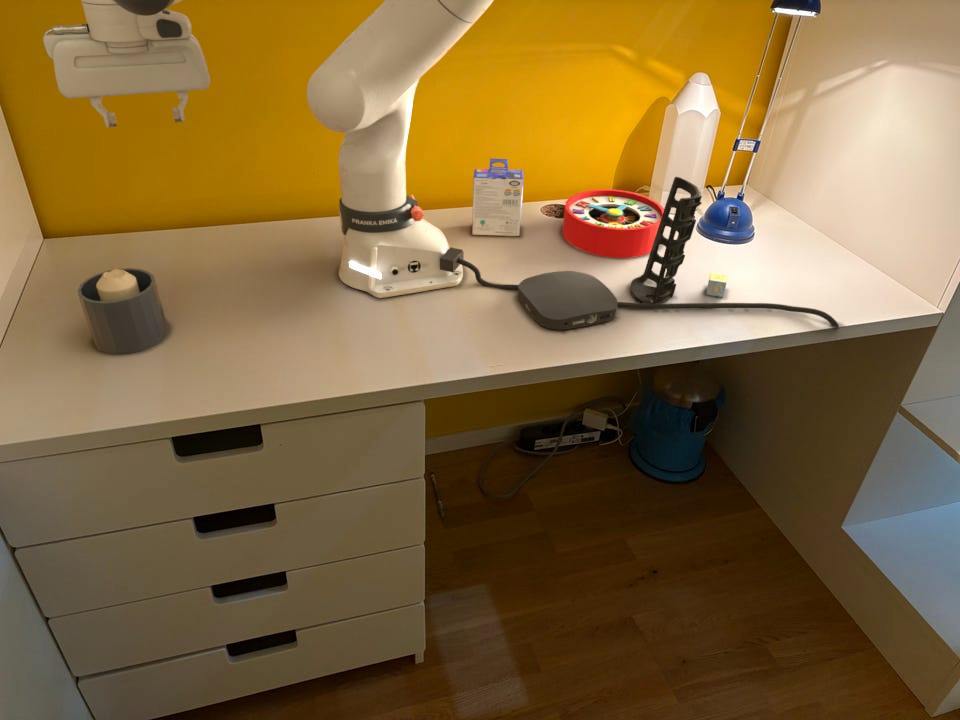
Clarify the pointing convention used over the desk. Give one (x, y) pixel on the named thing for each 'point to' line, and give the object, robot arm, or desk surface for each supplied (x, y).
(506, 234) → the ink cartridge box
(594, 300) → the media streaming box
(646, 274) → the holder
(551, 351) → the desk surface
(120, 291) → the candle
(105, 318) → the pen holder
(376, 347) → the desk surface
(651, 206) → the toy clock
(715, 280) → the alphabet block
